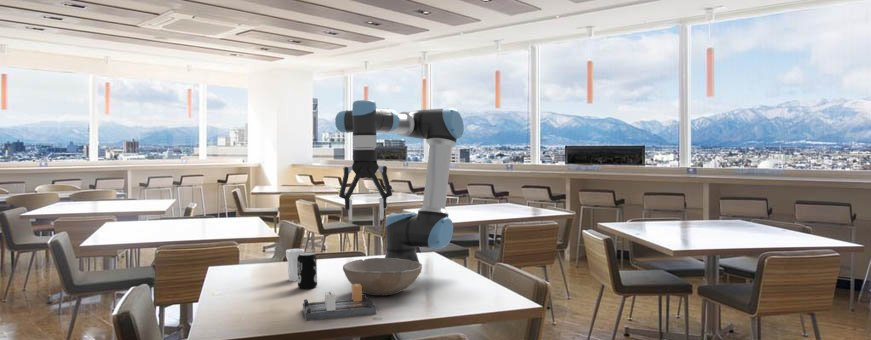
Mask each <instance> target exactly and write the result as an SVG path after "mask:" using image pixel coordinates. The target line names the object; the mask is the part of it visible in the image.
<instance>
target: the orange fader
mask: <svg viewBox="0 0 871 340" xmlns="http://www.w3.org/2000/svg"><path fill="white" fill-rule="evenodd" d="M362 295H363V292H362V286H361V285H360V284H351V299H352V300H353V301H362Z"/></svg>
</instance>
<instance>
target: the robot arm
mask: <svg viewBox="0 0 871 340" xmlns="http://www.w3.org/2000/svg"><path fill="white" fill-rule="evenodd" d="M334 121H335V122H334V123H335V127H336V129H337V130H338V131H339V132H341V133H347V134H349V133H352V148H353V149H354V150H353V151H352V160H353V161H352V165H351V166H344V167H342V168H343V169H342V170H343V176H342V181H341V185H340V188H339V189H340V190H339V193H338V197H339V198H341V199H343V200H344V208H345V210H347V213H348V220H349V221H353V199H351V196H352V195H353V193H354V190H355V188H356V186H357V184H358V183H359V181H360V179H365V178H366V179H371V180H372V182H373V184H374V185H375V188H376V189H377V191H378V193H379V195H380V197H378V200H379V201H378V202H379V204H378V205H379V219H380V220H383V219H385V226H384V228H385V251H386V252H385V256H384V258H399V259H405V260H411V261H417V262H419V263H420V260H419V257H418V254H417V248H422V249H423V248H424V249H432V250H434V249H435V250H436V249H444V248H445V247H447V246H448V245H449V244H450V242H451V240H452V237H453V235H454V234H453V233H454V225H453V221H452V220H451V219H450V218H449V213H448V211H447V210H446V204H447V196H448V195H447V193H448V186H449V178H450V177H449V175H450V168H451V156H452V149H453V148H454V147H455V146H456V145H457V139H460V138H461V137H462V136H463V135H464V132H465V131H464V130H465V127H464V120H463V118H462V115H461V113H460V112H459V110H457V109H456V108H450V107H449V108H448V107H444V108H434V109H433V108H429V109H419V110H413V111H402V112H399V113H398V112H397V111H396V110H395V109H390V108H378V107H377V103H376V102H375V101H374V100H370V99H366V100H365V99H362V100H359V99H358V100H355V101H353V102H352V110H347V109H346V110H342V111H341V110H340V111H339V112H337V114H336V116H335V119H334ZM377 134H397V135H398V136H400V137H408V138H414V139H422V140H426V143H427V144H428V146H429V148H428V157H427V163H426V164H427V166H426V173H425V174H426V176H425V184H424V193H423V201H422V207H421V208H420V209H419V210H417V214H416V212H415V211H411V212H402V213H394V214H389V215H387V216H386V218H385V217H384V216H385V215H384V212H385V211H384V209H386V208H387V205H388V204H387V198H388V197H391V196H392V195H393V192H392V189H391V184H390V180H389V177H388V174H387V171H388V167H387V166H386V165H379V164H378V152H377V149H376V148H377V147H378V146H377V145H378V144H377ZM378 170H379V172H380V173H381V177H382V181H383V184H384V188H383V186H382V185H381V183H380V181H379V179H378V177H377V174H376V173H377V172H378ZM352 171H353V173H354V174H355V175H354V177H353V179H352V180H351V184H350V185H349V188H348V189H347V192H346V188H347V184H348V180H349V175H350V174H351V173H352ZM384 189H385V190H384Z"/></svg>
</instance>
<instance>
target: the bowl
mask: <svg viewBox="0 0 871 340" xmlns="http://www.w3.org/2000/svg"><path fill="white" fill-rule="evenodd" d="M422 268H423V264H422V263H421V262H420V261H419V262H417V261H411V260H405V259H399V258H385V257H371V258H365V259H355V260H352V261H349V262H346V263H345V264H343V266H342V271H343V273H344V275H345V277H346V278H347V280H348V282H349V283H350V285H352V284H360V285H361V286H362V294H363V293H364V294H365V295H366V294H367V295H372V296H391V295H395V294H397V293H400V292H402V291H404V290H405V289H407V288H409V287H410V286H411V285H413V283H414V282H415V281H416V280H417V279H418V277H419V276H420V274H421V272H422Z"/></svg>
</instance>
